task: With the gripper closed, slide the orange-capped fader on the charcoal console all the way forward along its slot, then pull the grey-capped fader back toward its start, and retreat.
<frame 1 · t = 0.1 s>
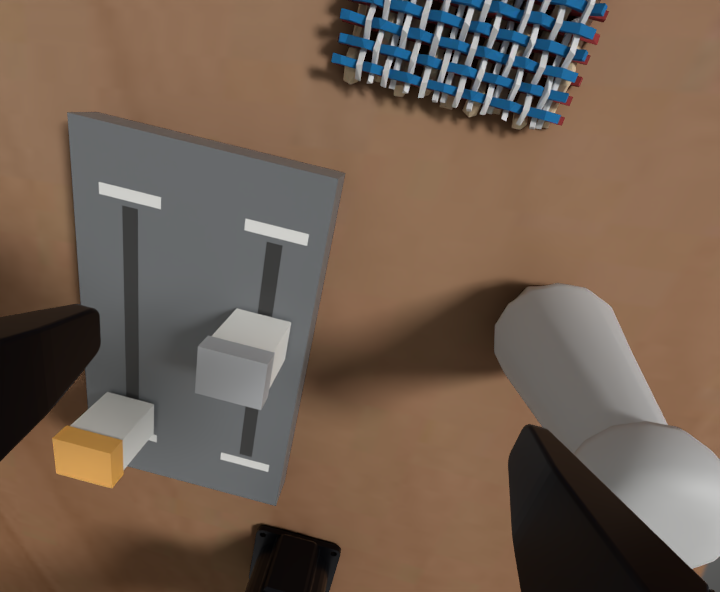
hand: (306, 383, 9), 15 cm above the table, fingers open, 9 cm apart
console: (206, 328, 26), on the table
salt shaker: (541, 316, 23), on the table
orange fader: (108, 436, 25), point 4 cm above the table, slide at 0.0 cm
grey fader: (247, 354, 21), point 4 cm above the table, slide at 8.0 cm
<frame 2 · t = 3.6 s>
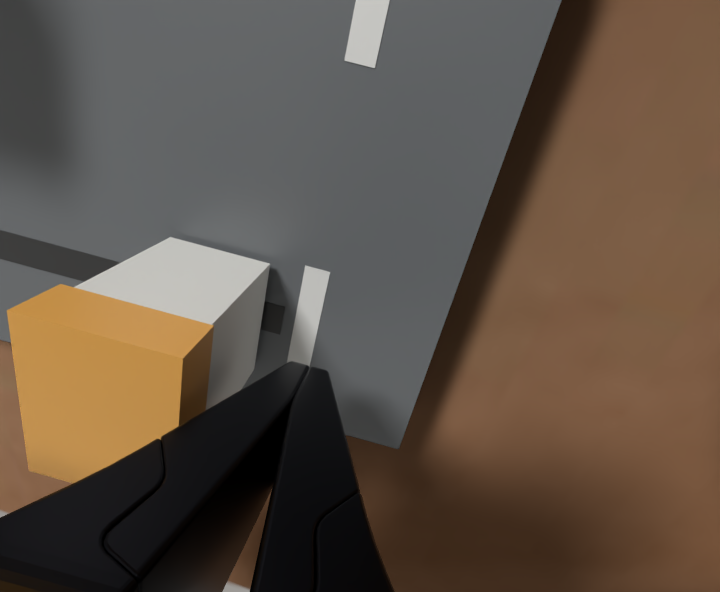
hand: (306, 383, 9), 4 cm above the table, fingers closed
console: (59, 99, 11), on the table
orange fader: (169, 351, 9), point 4 cm above the table, slide at 0.5 cm, touching gripper
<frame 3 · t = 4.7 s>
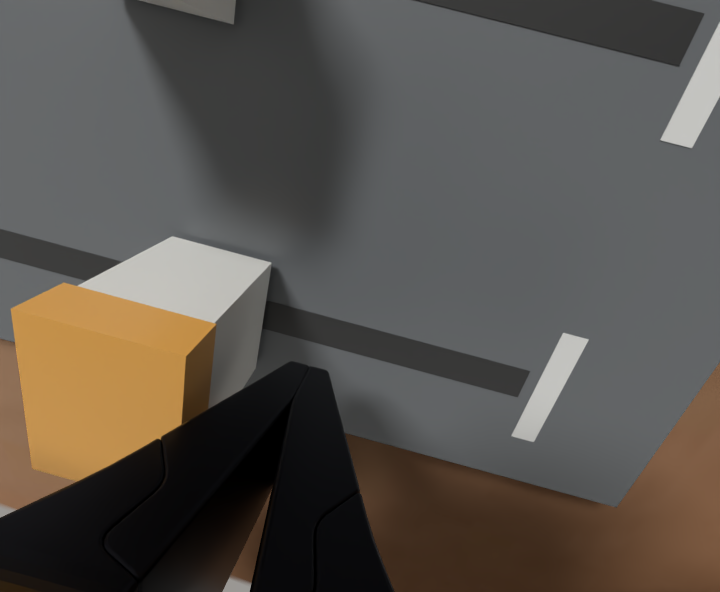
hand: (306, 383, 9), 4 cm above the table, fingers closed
console: (287, 158, 11), on the table
orange fader: (171, 349, 9), point 4 cm above the table, slide at 6.6 cm, touching gripper
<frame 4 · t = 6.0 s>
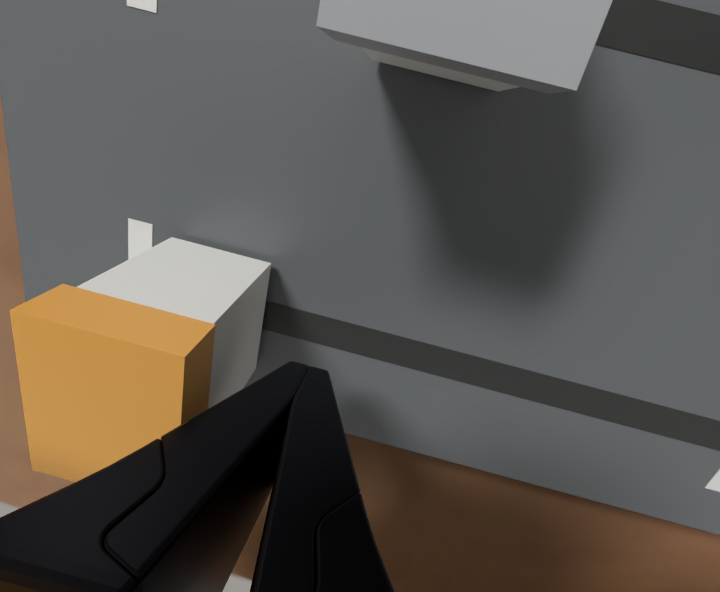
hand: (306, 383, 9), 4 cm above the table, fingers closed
console: (479, 207, 11), on the table
orange fader: (171, 350, 9), point 4 cm above the table, slide at 11.7 cm, touching gripper
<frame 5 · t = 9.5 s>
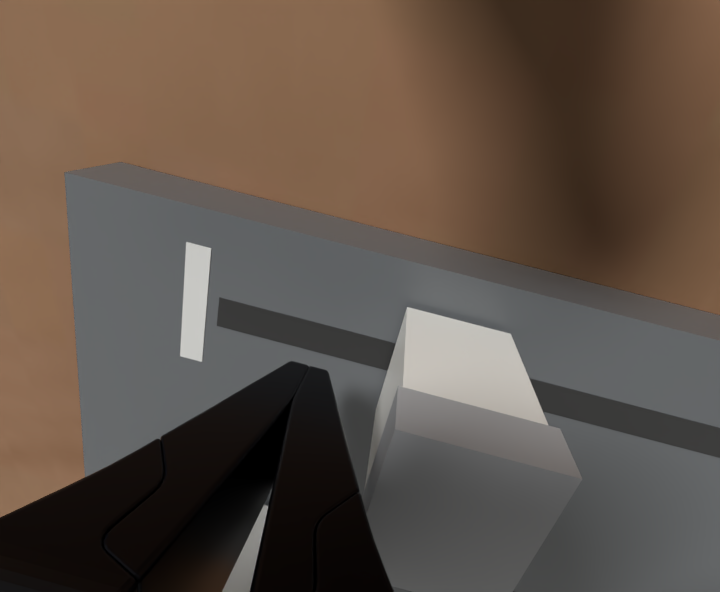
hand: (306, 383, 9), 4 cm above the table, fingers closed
console: (447, 447, 14), on the table
grey fader: (443, 434, 8), point 4 cm above the table, slide at 7.6 cm, touching gripper
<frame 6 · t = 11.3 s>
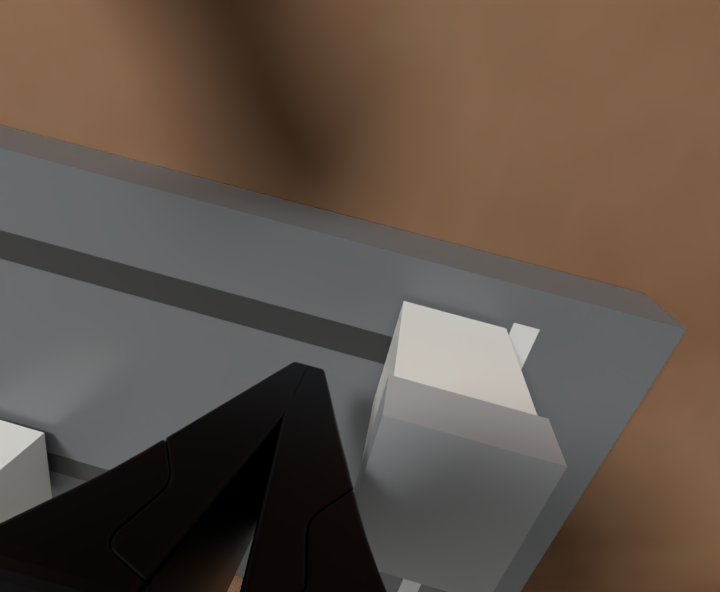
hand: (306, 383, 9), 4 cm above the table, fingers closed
console: (220, 380, 14), on the table
grey fader: (436, 426, 8), point 4 cm above the table, slide at -0.1 cm, touching gripper
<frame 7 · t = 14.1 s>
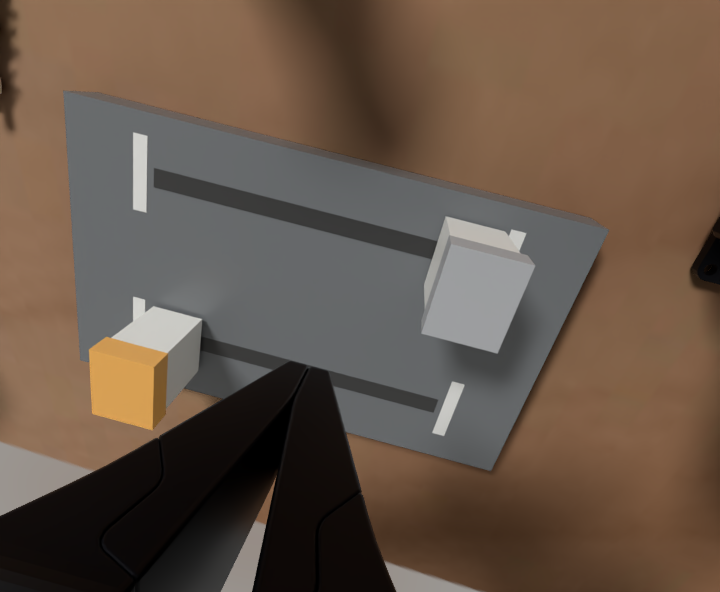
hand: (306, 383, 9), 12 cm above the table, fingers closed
console: (314, 288, 21), on the table
orange fader: (151, 362, 19), point 4 cm above the table, slide at 11.8 cm
grey fader: (468, 277, 15), point 4 cm above the table, slide at -0.1 cm
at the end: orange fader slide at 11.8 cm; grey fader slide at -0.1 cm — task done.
